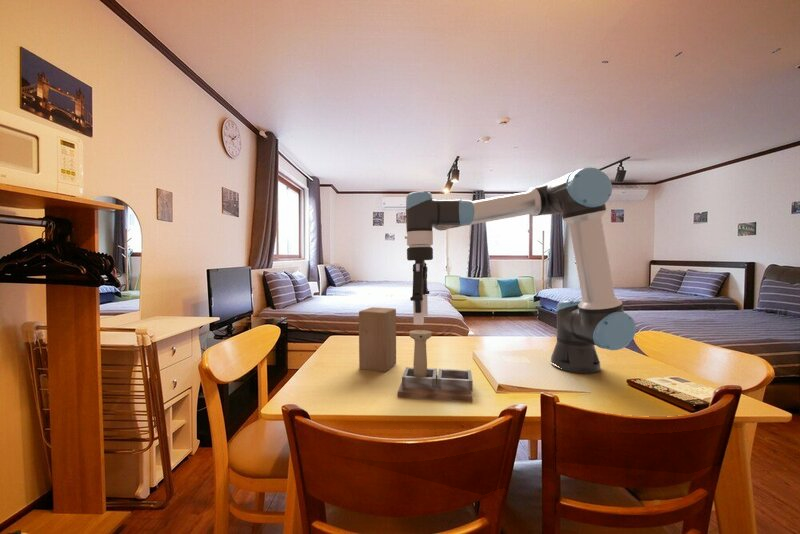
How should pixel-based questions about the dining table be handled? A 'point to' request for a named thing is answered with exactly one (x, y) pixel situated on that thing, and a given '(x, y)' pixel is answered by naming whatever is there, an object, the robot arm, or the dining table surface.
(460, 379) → the grey double square tray
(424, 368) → the handle
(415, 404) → the dining table surface
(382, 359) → the wooden block
